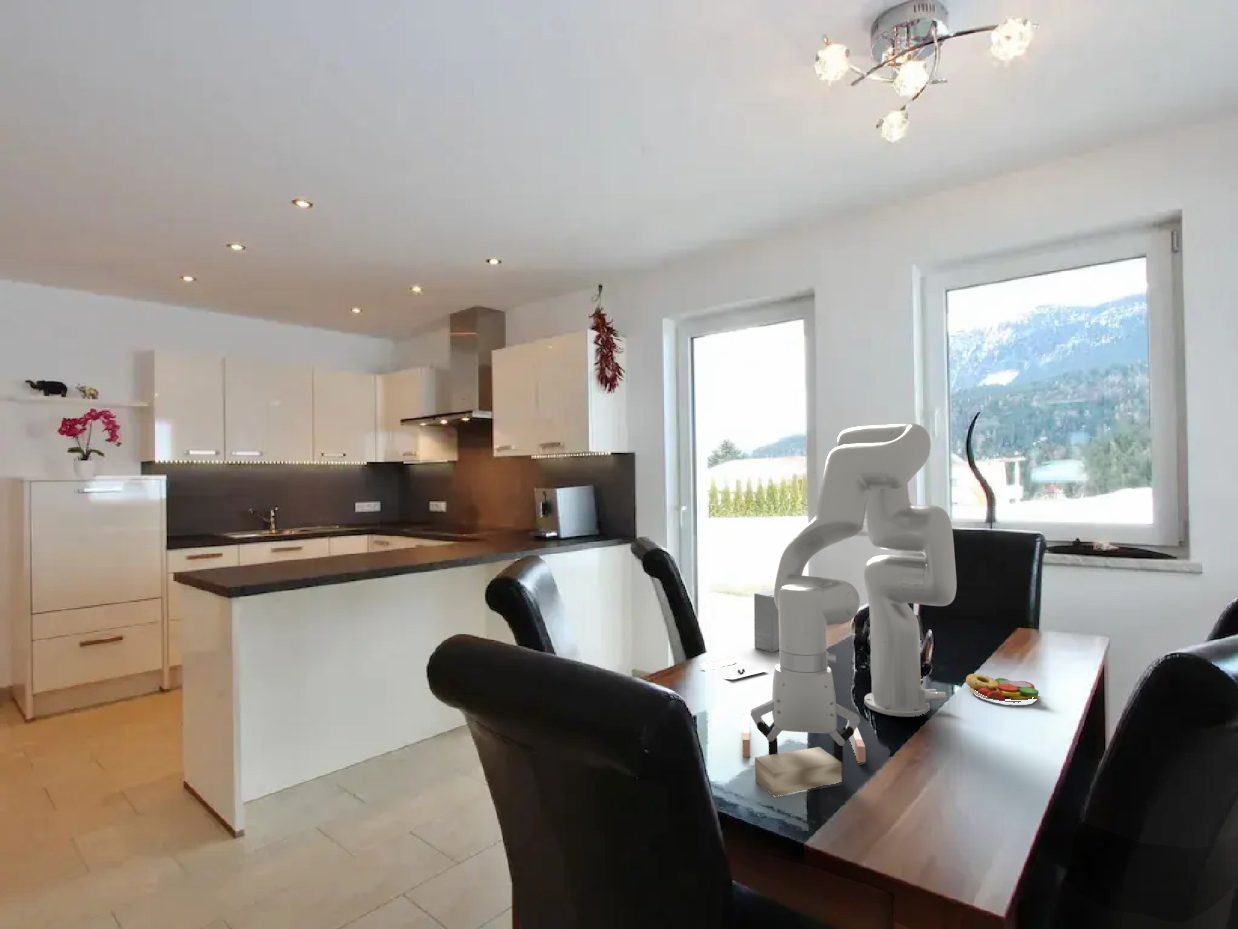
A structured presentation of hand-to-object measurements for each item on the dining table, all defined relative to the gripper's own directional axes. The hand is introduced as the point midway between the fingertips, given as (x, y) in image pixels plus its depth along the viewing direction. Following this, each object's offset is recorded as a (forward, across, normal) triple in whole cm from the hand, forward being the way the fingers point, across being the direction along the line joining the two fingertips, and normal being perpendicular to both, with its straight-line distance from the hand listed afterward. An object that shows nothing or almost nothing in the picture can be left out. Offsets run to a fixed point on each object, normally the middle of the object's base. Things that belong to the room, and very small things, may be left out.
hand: (805, 764), depth 108 cm
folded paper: (+2, +13, -54) cm, 56 cm away
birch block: (+2, +1, +3) cm, 4 cm away
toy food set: (+2, -45, -44) cm, 63 cm away
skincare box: (+2, +3, -77) cm, 77 cm away
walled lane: (+2, 0, -11) cm, 11 cm away
